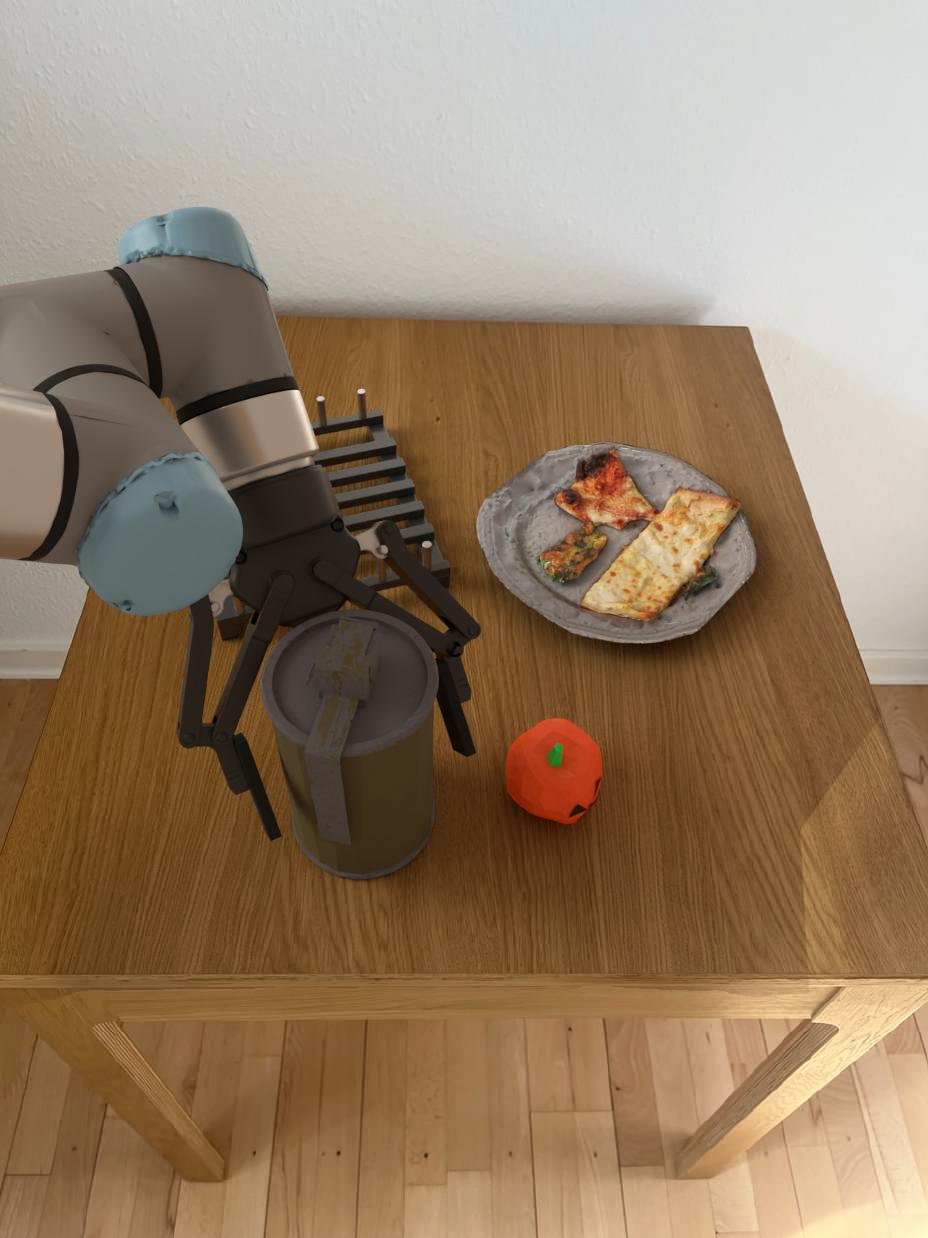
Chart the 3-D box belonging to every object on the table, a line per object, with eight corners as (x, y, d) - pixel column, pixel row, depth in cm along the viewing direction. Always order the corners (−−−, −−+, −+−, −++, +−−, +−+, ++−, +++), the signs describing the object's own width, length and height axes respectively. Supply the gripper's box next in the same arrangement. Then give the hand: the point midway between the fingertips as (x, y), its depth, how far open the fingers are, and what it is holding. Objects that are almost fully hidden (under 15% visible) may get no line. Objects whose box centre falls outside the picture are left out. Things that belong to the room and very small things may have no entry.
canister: (317, 739, 73) (288, 566, 57) (448, 765, 72) (456, 597, 56) (270, 869, 66) (224, 714, 50) (415, 900, 65) (413, 752, 49)
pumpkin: (601, 749, 73) (615, 703, 68) (593, 843, 68) (607, 801, 63) (510, 733, 74) (517, 687, 69) (495, 826, 69) (501, 783, 64)
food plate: (593, 426, 97) (598, 398, 94) (793, 538, 88) (805, 512, 85) (429, 556, 85) (430, 529, 82) (642, 703, 76) (650, 678, 73)
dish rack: (222, 640, 78) (210, 597, 74) (182, 467, 91) (170, 422, 87) (450, 586, 83) (451, 543, 78) (381, 429, 96) (379, 384, 91)
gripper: (428, 429, 65) (515, 712, 69) (60, 541, 58) (180, 852, 61) (465, 414, 58) (561, 729, 62) (52, 538, 51) (189, 890, 54)
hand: (372, 791), depth 62 cm, fingers open, 13 cm apart
